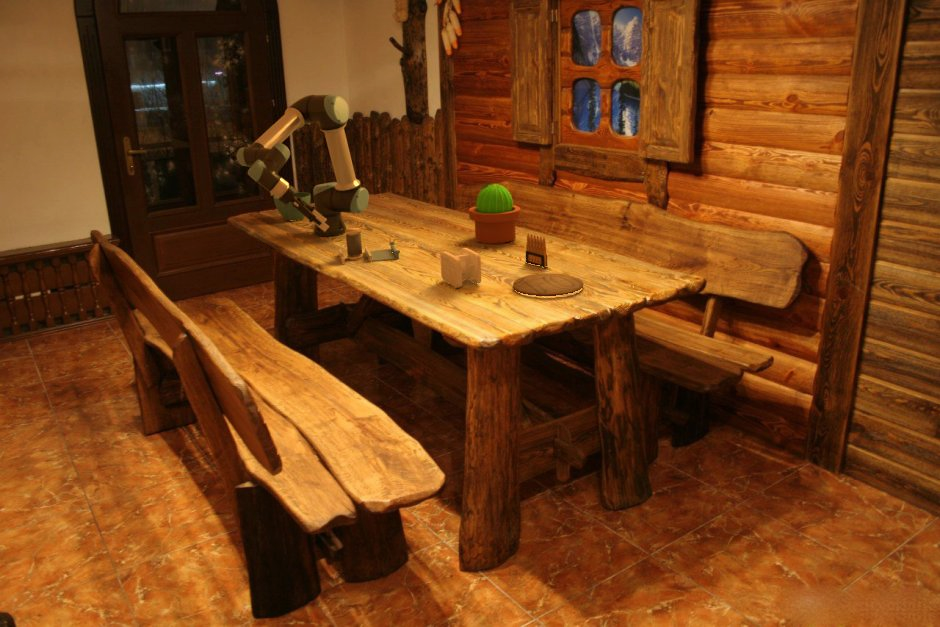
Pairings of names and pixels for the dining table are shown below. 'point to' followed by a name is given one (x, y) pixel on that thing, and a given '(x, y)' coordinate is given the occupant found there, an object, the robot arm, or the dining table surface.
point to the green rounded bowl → (292, 207)
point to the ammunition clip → (536, 251)
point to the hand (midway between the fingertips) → (325, 225)
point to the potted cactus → (494, 215)
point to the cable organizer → (461, 267)
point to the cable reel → (354, 243)
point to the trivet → (547, 284)
